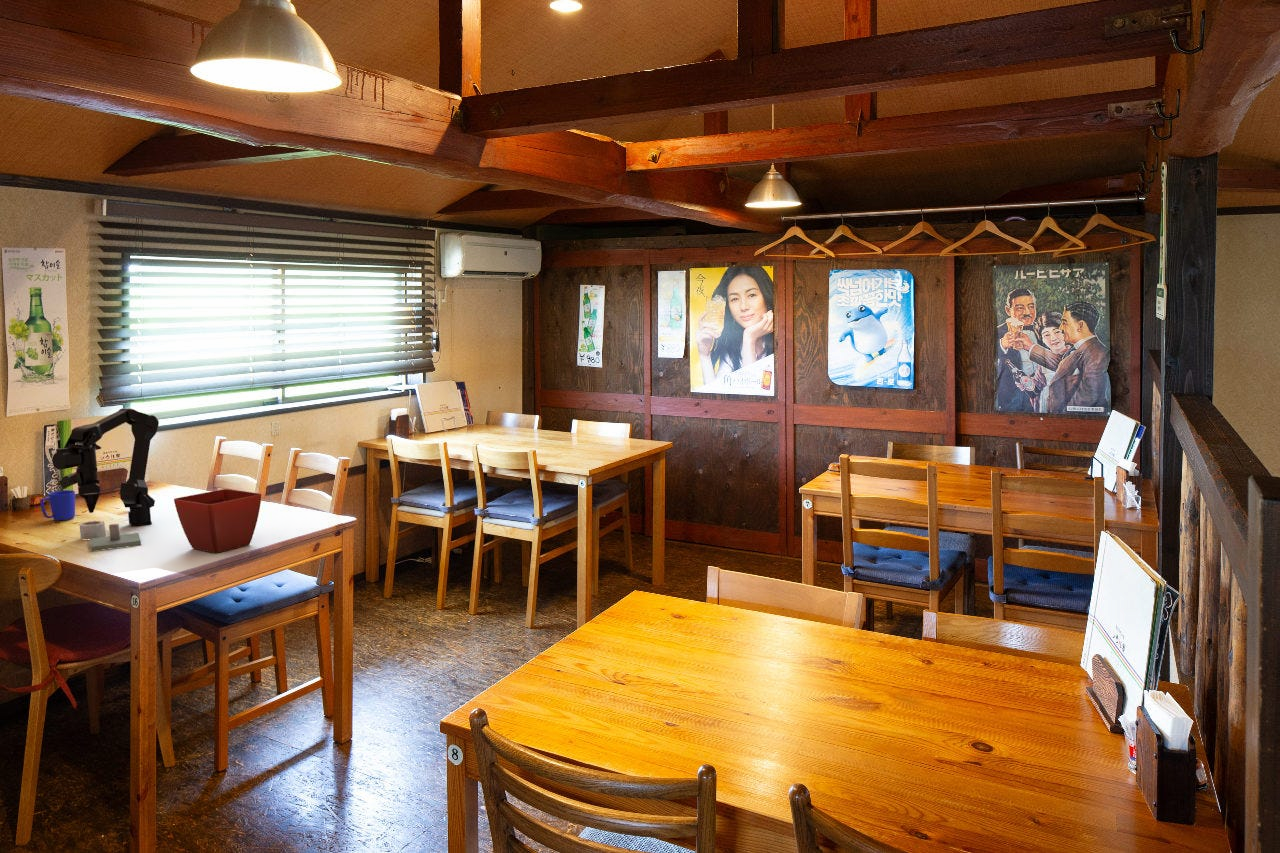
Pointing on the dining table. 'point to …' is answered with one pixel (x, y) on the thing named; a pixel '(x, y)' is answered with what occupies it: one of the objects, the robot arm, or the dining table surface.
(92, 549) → the post stand
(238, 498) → the plant pot
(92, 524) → the tan faceted hollow ring
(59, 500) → the mug
